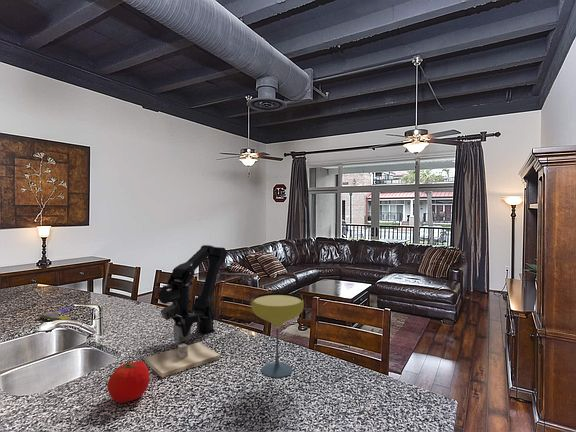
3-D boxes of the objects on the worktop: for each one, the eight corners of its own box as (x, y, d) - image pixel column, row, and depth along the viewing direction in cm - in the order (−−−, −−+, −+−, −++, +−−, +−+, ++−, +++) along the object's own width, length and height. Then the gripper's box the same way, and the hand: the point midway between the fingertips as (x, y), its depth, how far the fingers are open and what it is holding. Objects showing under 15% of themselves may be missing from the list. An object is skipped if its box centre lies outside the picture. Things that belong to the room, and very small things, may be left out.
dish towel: (104, 311, 188) (104, 306, 188) (58, 325, 166) (58, 319, 166) (82, 307, 196) (82, 302, 196) (36, 320, 173) (36, 314, 173)
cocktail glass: (292, 387, 110) (293, 309, 109) (241, 377, 116) (242, 303, 115) (309, 363, 127) (310, 295, 126) (264, 355, 133) (264, 290, 132)
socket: (185, 335, 148) (185, 318, 148) (190, 338, 144) (190, 321, 144) (173, 338, 145) (173, 321, 144) (179, 341, 141) (179, 324, 141)
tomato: (159, 390, 108) (159, 357, 107) (128, 413, 96) (128, 376, 96) (130, 383, 111) (130, 352, 111) (97, 405, 99) (96, 370, 99)
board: (199, 345, 142) (199, 332, 142) (220, 358, 130) (220, 344, 130) (144, 361, 127) (144, 346, 127) (162, 377, 115) (162, 361, 115)
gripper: (153, 296, 145) (154, 333, 146) (173, 306, 132) (173, 347, 132) (179, 292, 153) (179, 327, 153) (200, 300, 139) (199, 339, 140)
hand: (182, 334), depth 144 cm, fingers closed on socket, 5 cm apart
